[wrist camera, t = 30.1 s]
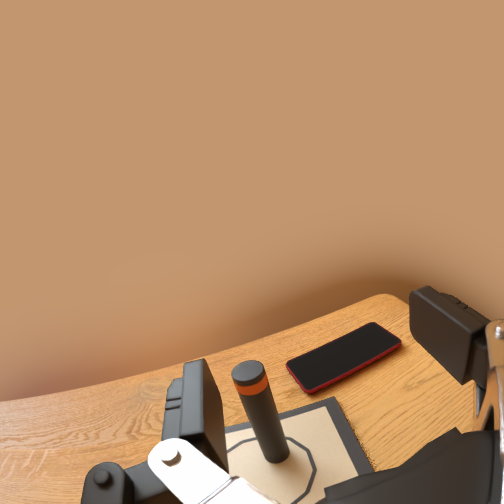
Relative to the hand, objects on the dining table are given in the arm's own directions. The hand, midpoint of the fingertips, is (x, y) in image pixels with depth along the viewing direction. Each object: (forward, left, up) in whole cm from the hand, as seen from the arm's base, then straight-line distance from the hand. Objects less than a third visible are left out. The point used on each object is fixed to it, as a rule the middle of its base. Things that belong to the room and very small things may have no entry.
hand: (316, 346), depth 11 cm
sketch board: (+5, -9, -21) cm, 23 cm away
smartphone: (-8, -23, -21) cm, 33 cm away
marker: (+3, -11, -20) cm, 23 cm away
